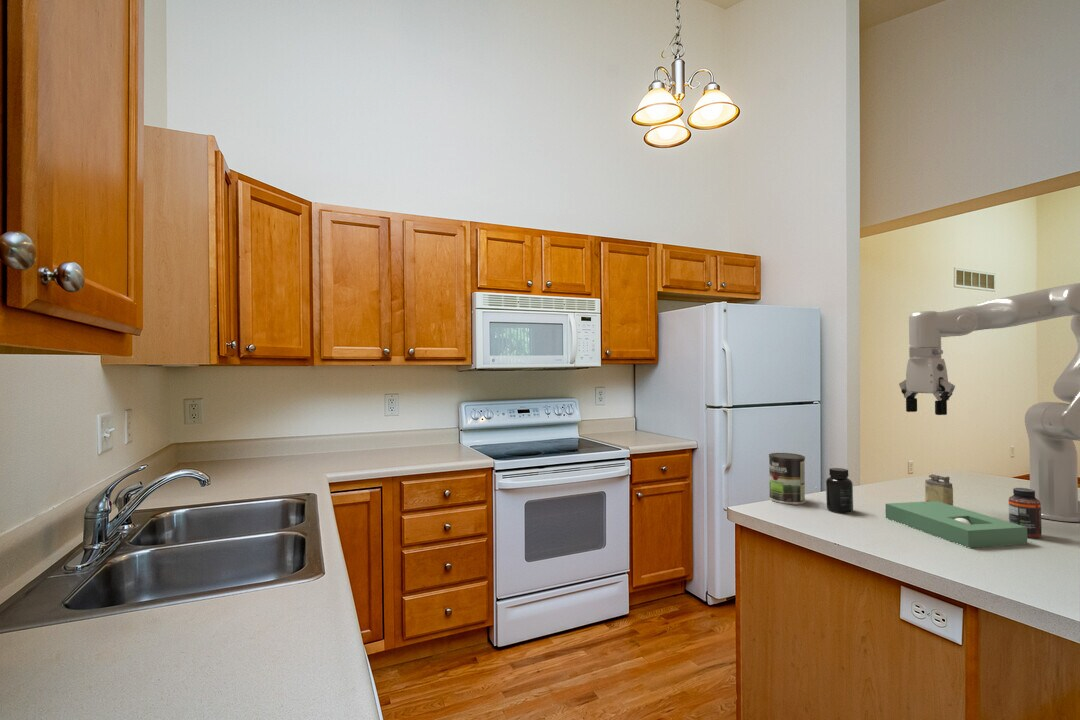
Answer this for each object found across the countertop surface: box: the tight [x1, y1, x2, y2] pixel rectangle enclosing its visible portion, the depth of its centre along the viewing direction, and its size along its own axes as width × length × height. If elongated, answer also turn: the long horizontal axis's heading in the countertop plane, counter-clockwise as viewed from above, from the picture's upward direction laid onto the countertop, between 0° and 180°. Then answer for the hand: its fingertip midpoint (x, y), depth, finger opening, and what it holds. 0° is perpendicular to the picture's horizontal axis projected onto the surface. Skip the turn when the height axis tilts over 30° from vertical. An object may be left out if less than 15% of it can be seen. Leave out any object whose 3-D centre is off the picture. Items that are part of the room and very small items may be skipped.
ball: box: [954, 518, 971, 525], centre depth 130 cm, size 4×4×4 cm
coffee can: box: [768, 452, 806, 505], centre depth 165 cm, size 10×10×14 cm
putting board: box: [885, 501, 1028, 548], centre depth 134 cm, size 16×24×4 cm, turn 8°
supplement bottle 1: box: [825, 467, 854, 514], centre depth 153 cm, size 7×7×12 cm
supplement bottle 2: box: [1008, 487, 1043, 539], centre depth 130 cm, size 6×6×11 cm
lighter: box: [924, 473, 954, 506], centre depth 153 cm, size 7×4×10 cm, turn 23°
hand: (925, 413), depth 152 cm, fingers open, 9 cm apart
